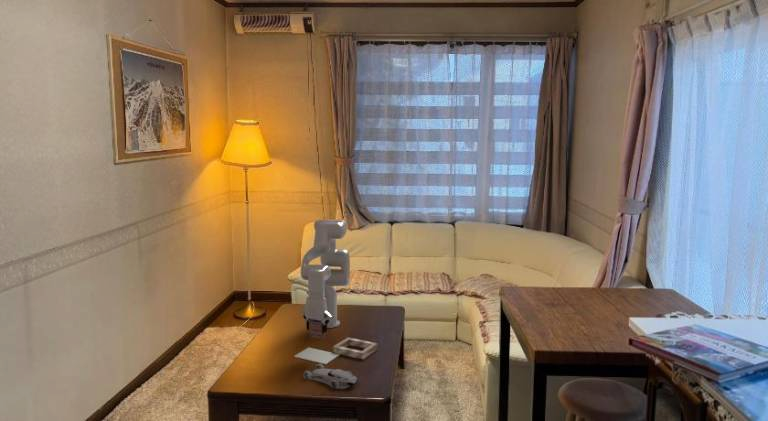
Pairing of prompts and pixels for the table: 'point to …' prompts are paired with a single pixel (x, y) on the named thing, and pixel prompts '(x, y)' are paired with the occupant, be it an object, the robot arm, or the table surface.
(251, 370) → the table surface
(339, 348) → the slot holder
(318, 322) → the lighter
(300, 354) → the mat
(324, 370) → the car model
